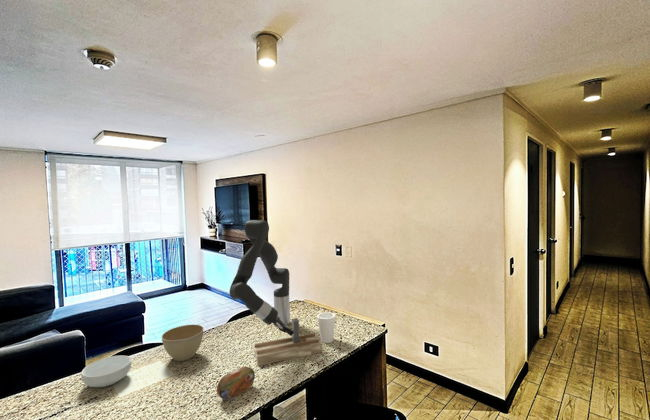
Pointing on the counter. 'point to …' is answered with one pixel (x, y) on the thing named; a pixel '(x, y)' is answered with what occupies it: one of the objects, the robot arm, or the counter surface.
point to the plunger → (295, 331)
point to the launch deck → (286, 349)
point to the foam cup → (326, 326)
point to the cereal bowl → (106, 371)
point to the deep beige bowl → (182, 341)
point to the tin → (235, 383)
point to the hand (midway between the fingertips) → (292, 333)
